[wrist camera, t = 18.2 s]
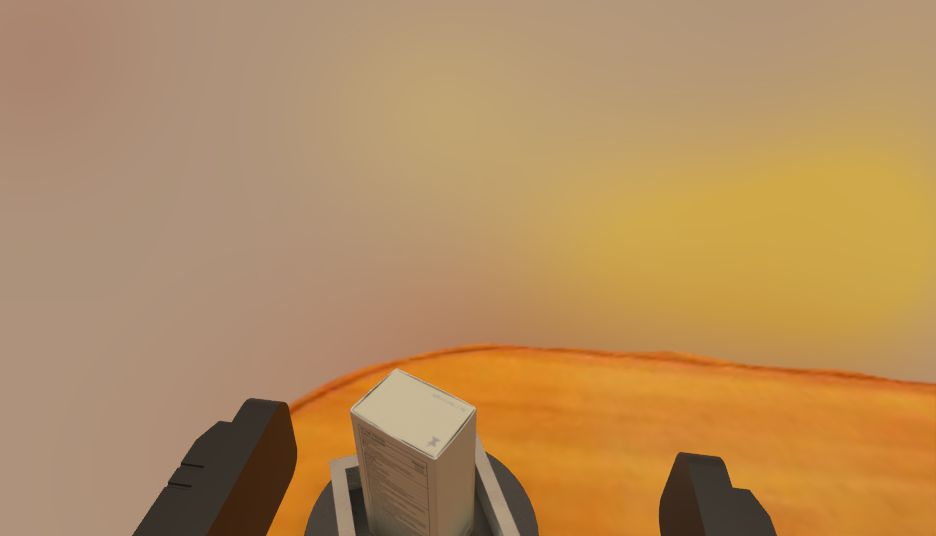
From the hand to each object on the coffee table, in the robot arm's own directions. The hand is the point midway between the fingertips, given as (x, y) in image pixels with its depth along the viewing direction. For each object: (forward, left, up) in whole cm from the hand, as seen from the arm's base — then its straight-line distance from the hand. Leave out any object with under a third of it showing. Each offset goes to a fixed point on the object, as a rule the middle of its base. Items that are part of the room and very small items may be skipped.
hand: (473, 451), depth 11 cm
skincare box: (-2, -14, -27) cm, 30 cm away
